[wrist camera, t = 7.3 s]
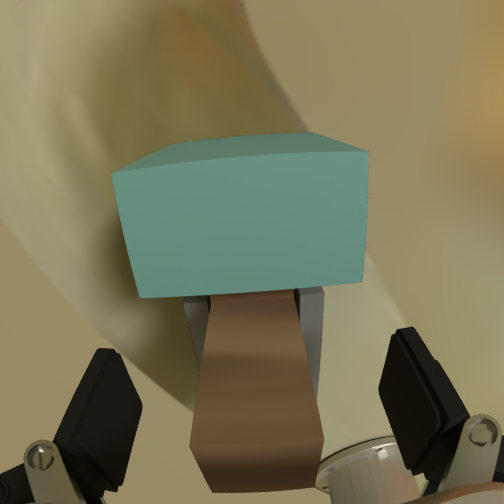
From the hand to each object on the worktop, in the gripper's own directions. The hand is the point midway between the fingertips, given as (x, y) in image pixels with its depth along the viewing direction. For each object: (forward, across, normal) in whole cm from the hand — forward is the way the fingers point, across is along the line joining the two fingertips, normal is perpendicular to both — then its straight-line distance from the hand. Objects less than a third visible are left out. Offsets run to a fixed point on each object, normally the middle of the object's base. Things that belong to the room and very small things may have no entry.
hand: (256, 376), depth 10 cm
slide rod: (+5, 0, -2) cm, 6 cm away
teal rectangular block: (+9, 0, -5) cm, 10 cm away
